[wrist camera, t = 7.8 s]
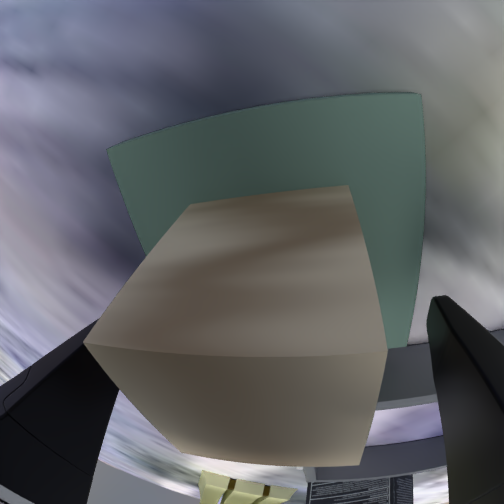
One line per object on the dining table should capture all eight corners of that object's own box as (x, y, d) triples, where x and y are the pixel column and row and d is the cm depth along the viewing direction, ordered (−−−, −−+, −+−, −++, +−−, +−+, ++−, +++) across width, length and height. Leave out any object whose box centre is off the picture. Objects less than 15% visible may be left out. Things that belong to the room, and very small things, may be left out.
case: (538, 320, 10) (558, 358, 8) (466, 433, 18) (470, 460, 15) (281, 354, 14) (273, 405, 12) (303, 452, 22) (299, 481, 19)
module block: (348, 184, 8) (388, 351, 3) (353, 312, 11) (358, 465, 6) (190, 204, 10) (82, 342, 5) (227, 317, 12) (181, 452, 7)
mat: (410, 92, 7) (421, 94, 6) (402, 330, 12) (406, 346, 11) (121, 142, 10) (106, 149, 9) (198, 338, 15) (192, 352, 14)
